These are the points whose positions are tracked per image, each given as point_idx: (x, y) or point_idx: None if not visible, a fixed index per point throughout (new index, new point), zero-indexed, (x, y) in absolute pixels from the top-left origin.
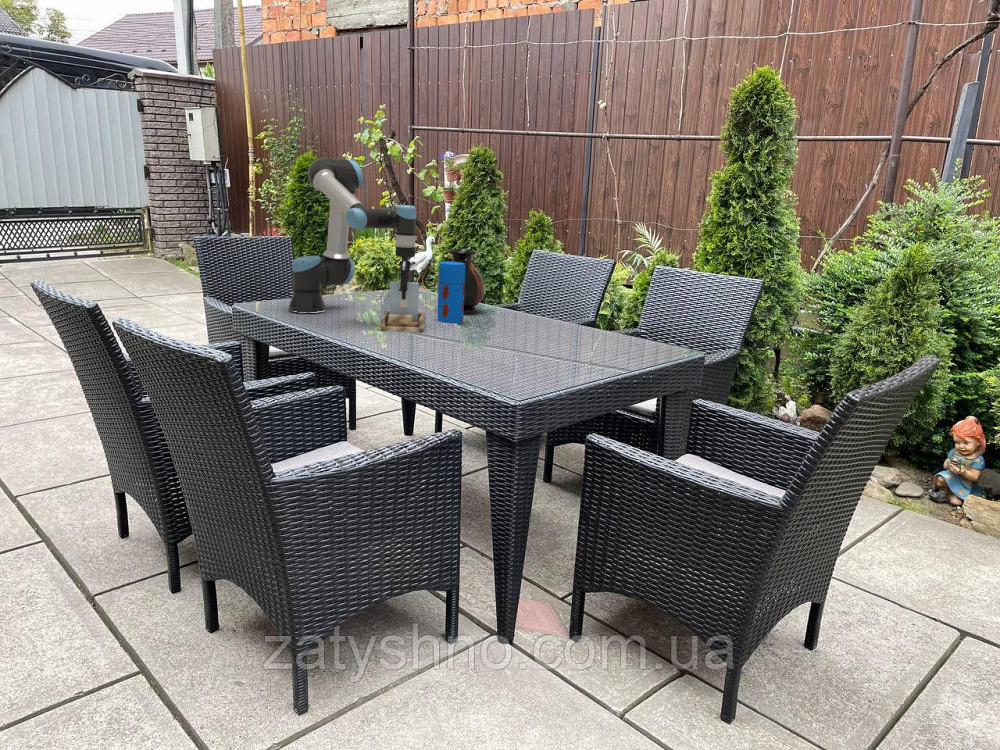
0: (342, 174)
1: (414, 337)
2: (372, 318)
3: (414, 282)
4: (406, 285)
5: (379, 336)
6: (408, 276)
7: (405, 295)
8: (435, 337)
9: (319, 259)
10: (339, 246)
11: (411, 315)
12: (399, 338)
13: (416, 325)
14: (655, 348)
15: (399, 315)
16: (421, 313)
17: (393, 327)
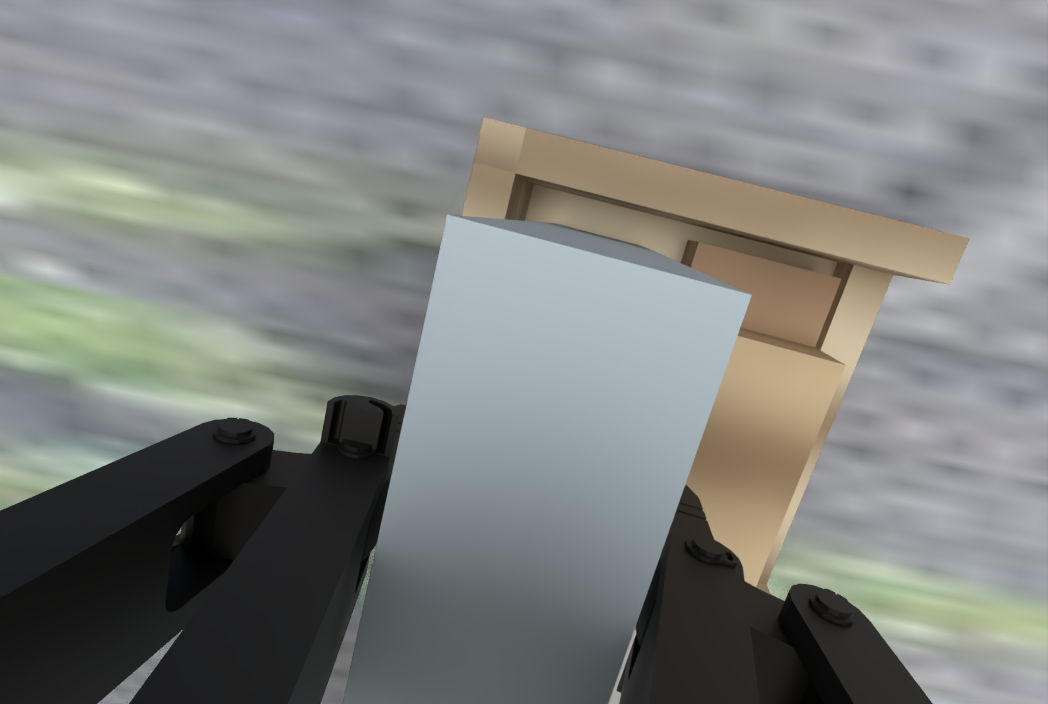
0: None
1: (980, 338)
2: None
3: (429, 363)
4: (917, 694)
5: (873, 612)
6: (65, 567)
7: (707, 521)
8: (1028, 127)
9: None
10: None
11: (737, 346)
12: (996, 477)
13: (830, 294)
14: None
15: (726, 483)
16: (529, 175)
17: (794, 511)
